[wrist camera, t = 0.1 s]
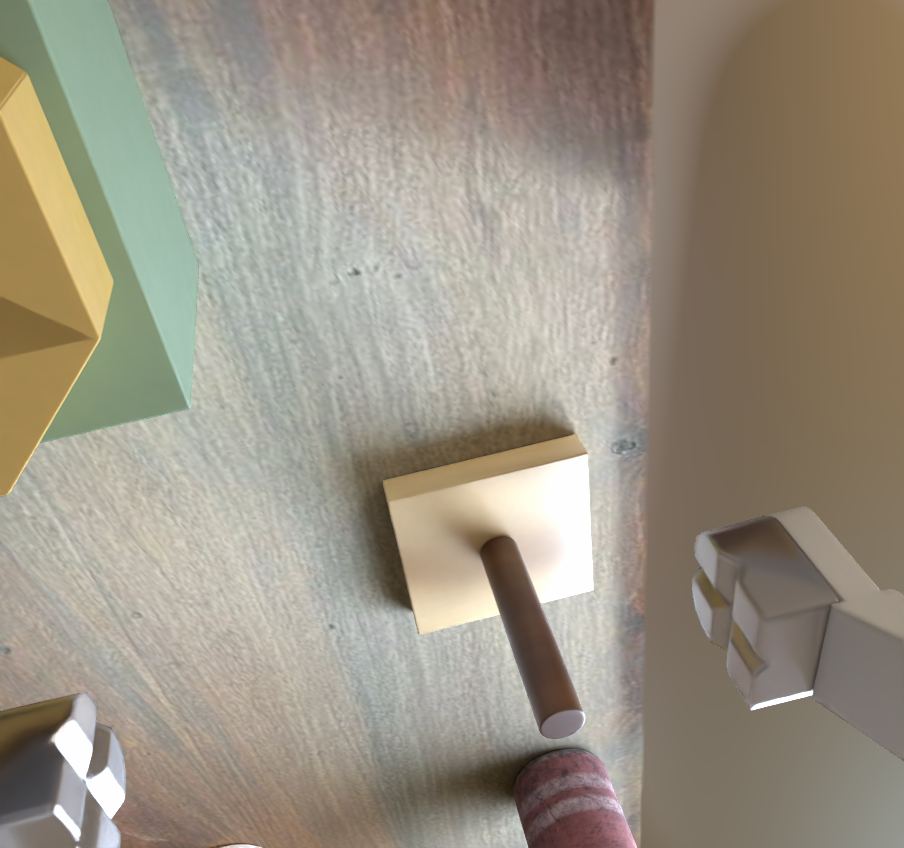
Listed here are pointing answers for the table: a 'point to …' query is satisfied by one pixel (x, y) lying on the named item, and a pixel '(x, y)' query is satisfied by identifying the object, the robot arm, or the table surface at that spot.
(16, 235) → the brass ring
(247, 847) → the chess piece
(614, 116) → the table surface
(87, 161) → the plinth
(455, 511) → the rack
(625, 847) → the can
